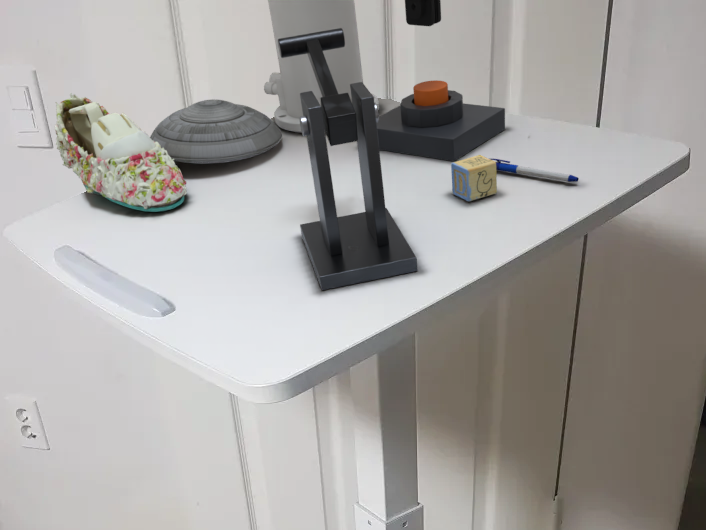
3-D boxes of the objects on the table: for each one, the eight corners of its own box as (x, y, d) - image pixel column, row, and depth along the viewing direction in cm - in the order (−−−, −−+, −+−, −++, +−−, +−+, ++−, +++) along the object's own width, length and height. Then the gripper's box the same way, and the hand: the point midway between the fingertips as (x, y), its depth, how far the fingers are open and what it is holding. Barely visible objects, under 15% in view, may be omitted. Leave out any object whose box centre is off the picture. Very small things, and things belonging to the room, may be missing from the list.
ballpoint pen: (479, 169, 83) (479, 158, 82) (484, 166, 84) (484, 155, 83) (575, 184, 78) (576, 173, 77) (580, 181, 78) (581, 170, 78)
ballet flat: (130, 229, 82) (104, 146, 77) (36, 173, 97) (9, 101, 92) (212, 198, 86) (192, 117, 81) (109, 148, 101) (87, 78, 96)
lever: (279, 57, 72) (275, 29, 70) (342, 46, 72) (340, 18, 70) (309, 150, 65) (306, 122, 63) (378, 137, 66) (377, 109, 64)
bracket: (302, 237, 76) (275, 85, 68) (387, 220, 77) (371, 67, 68) (321, 290, 68) (294, 125, 59) (417, 271, 69) (404, 105, 60)
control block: (362, 147, 92) (358, 108, 89) (415, 117, 98) (413, 80, 95) (454, 161, 86) (452, 120, 83) (505, 129, 91) (504, 89, 89)
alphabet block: (451, 194, 80) (450, 161, 78) (479, 185, 81) (478, 152, 79) (469, 203, 78) (467, 170, 76) (497, 194, 78) (497, 161, 76)
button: (407, 106, 89) (406, 89, 88) (427, 96, 91) (426, 79, 90) (435, 110, 87) (434, 92, 86) (455, 99, 89) (454, 81, 88)
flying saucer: (145, 141, 100) (135, 90, 96) (270, 127, 103) (265, 78, 99) (156, 181, 88) (146, 125, 85) (296, 164, 92) (291, 110, 88)
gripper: (425, -221, 78) (435, 3, 91) (321, -203, 70) (348, 41, 82) (494, -228, 75) (495, 6, 87) (393, -210, 66) (410, 47, 79)
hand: (423, 23), depth 85 cm, fingers closed
